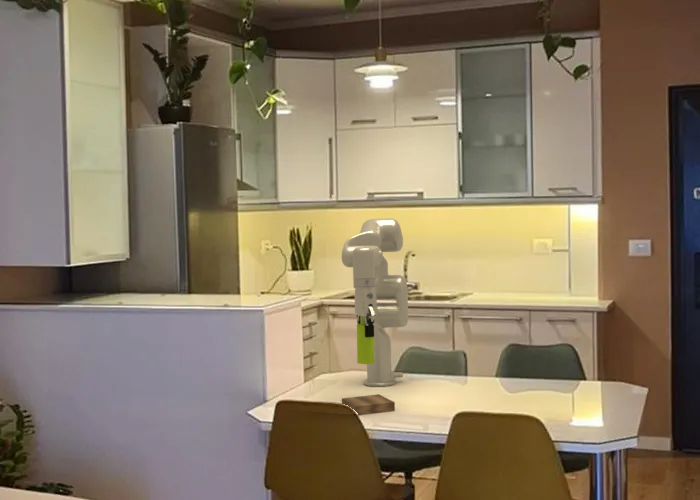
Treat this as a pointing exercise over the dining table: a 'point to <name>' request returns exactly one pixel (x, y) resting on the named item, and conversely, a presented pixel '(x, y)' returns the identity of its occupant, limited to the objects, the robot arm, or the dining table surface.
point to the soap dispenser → (364, 344)
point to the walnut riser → (369, 404)
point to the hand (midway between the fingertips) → (365, 335)
